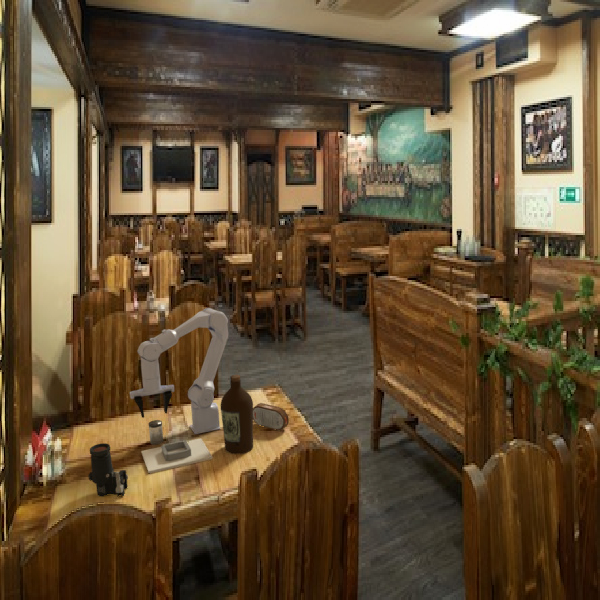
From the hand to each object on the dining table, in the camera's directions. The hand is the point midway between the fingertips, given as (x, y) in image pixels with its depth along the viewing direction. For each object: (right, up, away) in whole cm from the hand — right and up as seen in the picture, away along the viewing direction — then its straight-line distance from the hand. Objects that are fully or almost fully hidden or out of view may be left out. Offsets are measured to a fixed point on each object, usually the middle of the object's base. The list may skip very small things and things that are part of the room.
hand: (154, 414), depth 179 cm
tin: (+39, -7, +10) cm, 41 cm away
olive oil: (+30, -10, -5) cm, 32 cm away
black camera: (-5, -16, -30) cm, 34 cm away
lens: (0, -10, +2) cm, 10 cm away
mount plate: (+10, -12, -9) cm, 18 cm away
